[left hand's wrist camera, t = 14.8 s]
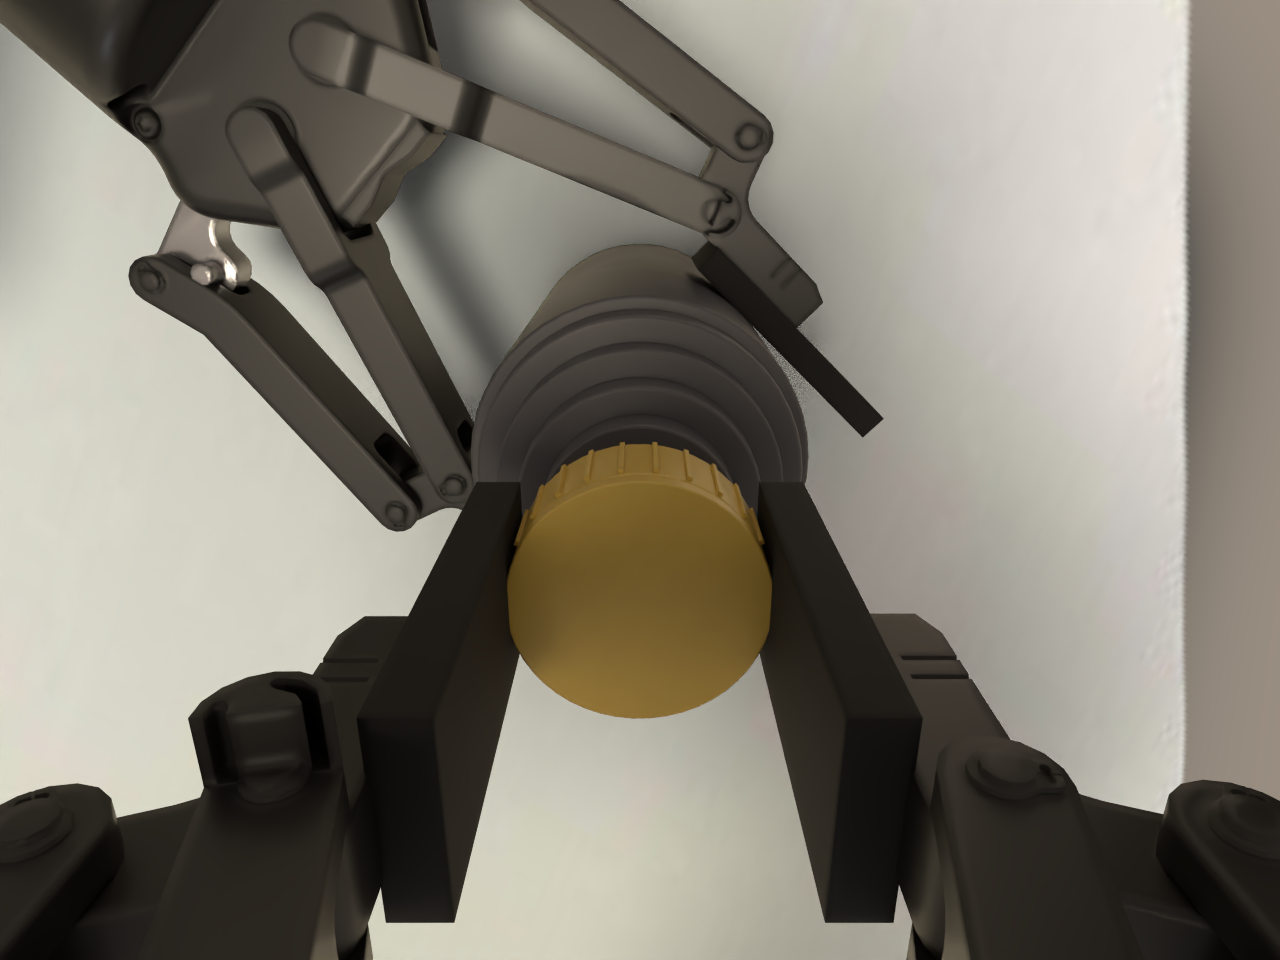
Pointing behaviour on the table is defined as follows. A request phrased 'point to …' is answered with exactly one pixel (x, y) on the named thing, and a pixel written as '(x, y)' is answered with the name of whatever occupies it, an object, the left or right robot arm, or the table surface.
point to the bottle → (638, 379)
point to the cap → (639, 582)
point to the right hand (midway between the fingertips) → (754, 510)
